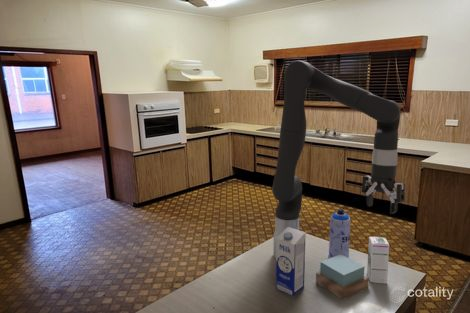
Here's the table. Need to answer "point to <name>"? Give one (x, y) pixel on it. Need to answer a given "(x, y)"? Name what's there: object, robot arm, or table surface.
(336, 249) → the aerosol can
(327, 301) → the table surface
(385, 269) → the syrup box
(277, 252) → the milk carton
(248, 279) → the table surface
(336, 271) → the teal block
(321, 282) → the walnut slab
